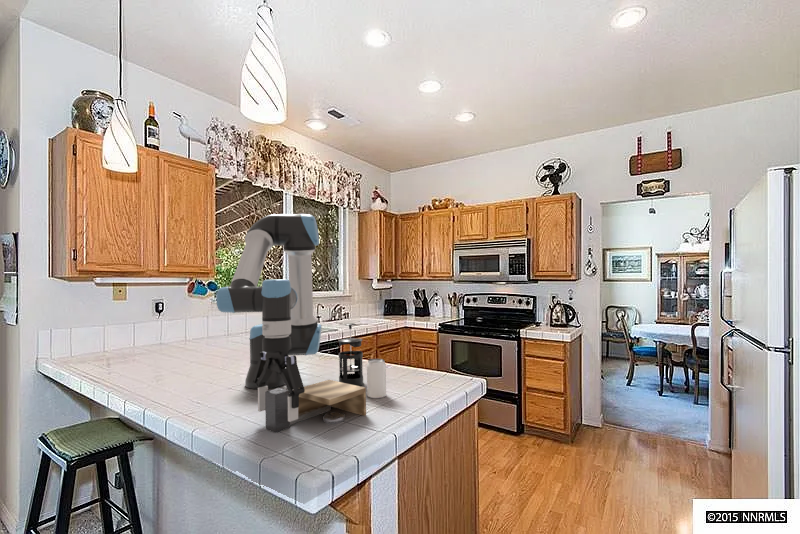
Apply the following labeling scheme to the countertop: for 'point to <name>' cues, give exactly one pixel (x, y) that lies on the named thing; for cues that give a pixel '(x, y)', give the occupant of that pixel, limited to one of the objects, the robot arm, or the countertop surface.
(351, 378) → the french press
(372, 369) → the can
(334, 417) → the disc
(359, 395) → the shelf
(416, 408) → the countertop surface
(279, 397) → the tool
